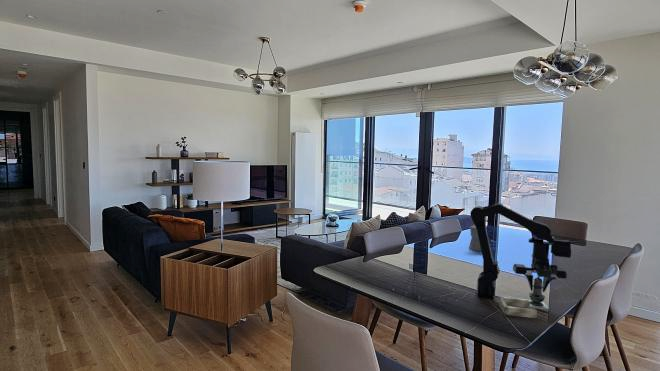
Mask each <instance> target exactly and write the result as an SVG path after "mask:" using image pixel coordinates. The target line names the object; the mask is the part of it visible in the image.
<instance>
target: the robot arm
mask: <svg viewBox="0 0 660 371" xmlns="http://www.w3.org/2000/svg"><path fill="white" fill-rule="evenodd" d="M496 214H498V215H501V216H503V217H504V218H506V219H508V220H510V221H512V222H514V223H516V224H517V225H519V226H522V227H523V228H525V229H527V230H528V231H529V232H530V233H531V234H532V235H534V236H532V237H531V238H528V243H531V244H533V245H532V254H531V264H530V267H527V266H525V265H524V264H523V263H522V264H520V263H514V264H513V265H512V271H513V272H514V273H515V274H517V275H523V276H524V277H526V279H527V282H528V286H529V289H530V291H531V292H533V288H534V287H533V285H534V281H533V280H534V275H533V273H536V275H537V277H538V276H539V278H543V279H542V287H543V288H542V293H545V292H546V290H547V287H548V286H549V284H550V282H552V281H553V280H557V278H558V279H567V276H568V273H567V271H566V270H564V269H563V268H561V267H558V266H557V265H556V264H550V258H549V255H550V254H552V255H553V257H558V258H566V259H570V258H571V256H572V246H571V244H572V242H571V240H566V239H565V240H562V239H561V240H560V239H555V236H553V235H552V231H551V229H550V227H549V225H548V224H546V223H544V222H541V221H538V220H535V219H531V218H528V217H526V216H524V215H523V214H520V213H519V212H517V211H514V210H513V209H512V208H509V207H507V206H505V205H504V204H502V203H501V202H499V203H495V204H491V205H487V206H480V205H477V206H474V207H473V208H472V209H471V210H470V217H471V220H472V223H473V226H474V225H475V227H476V229H477V233H478V238H479V242H480V247H481V251H480V252H481V255H482V260H483V263H482V265H483V267H482V272H480V273H479V275H478V277H477V280H476V281H477V282H476V291H475V294H476V296H477V297H476V298H483V299H492V300H493V299H495V298H494V297H495V289H496V288H495V285H494V282H495V281H496V280H498V277H499V274H500V272H501V269H500V267H499V261H498V260H496V261H495V260H494V257H493V254H492V250H491V244H490V240H489V234H488V229H487V230H486V227H487V217H491V216H494V215H496ZM536 237H537V238H536ZM544 240H545V241H544ZM549 252H550V254H549Z"/></svg>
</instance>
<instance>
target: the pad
mask: <svg viewBox="0 0 660 371" xmlns="http://www.w3.org/2000/svg"><path fill="white" fill-rule="evenodd" d="M528 300H529V301H532V300H531V299H528ZM541 303H542V304H543V305H544V306H534V305H531V304H530V309H532V308H535V309H538V310H539V309H540V310H549V309H550V308H549V306H548V305H546V303H545V302H544V301H542V302H541Z"/></svg>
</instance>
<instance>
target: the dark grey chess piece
mask: <svg viewBox="0 0 660 371" xmlns="http://www.w3.org/2000/svg"><path fill="white" fill-rule="evenodd" d="M533 280H534V281H533V290H532V292H530V293H529V294H528V295H529V300H532V301H530V304H531V305H534V306H544V305H543V304H542V303H541V302H544V300H545V298H546V296H545V295H544V294H543V291H542V288H543V287H542V286H543V279H542V277H539V276H538V275H537V277H535V278H533Z"/></svg>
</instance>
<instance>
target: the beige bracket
mask: <svg viewBox="0 0 660 371" xmlns="http://www.w3.org/2000/svg"><path fill="white" fill-rule="evenodd" d="M529 300H530V299H526V298H517V297H516V298H515V297H508V296H498V301H497V302H498V304H497V305H498V306H499V308H500V309H501V311H502V313H503V315H507V316H514V317H521V318H522V317H523V318H529V319H530V318H532V319H537V317H538V316H537V315H538V310H537V308H530V301H529Z"/></svg>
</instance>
